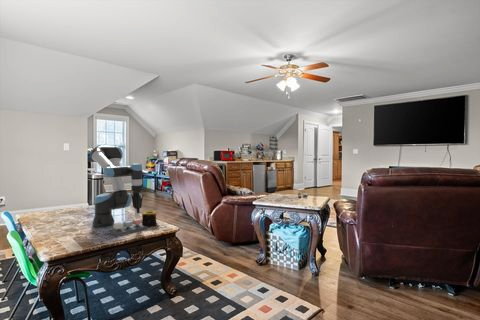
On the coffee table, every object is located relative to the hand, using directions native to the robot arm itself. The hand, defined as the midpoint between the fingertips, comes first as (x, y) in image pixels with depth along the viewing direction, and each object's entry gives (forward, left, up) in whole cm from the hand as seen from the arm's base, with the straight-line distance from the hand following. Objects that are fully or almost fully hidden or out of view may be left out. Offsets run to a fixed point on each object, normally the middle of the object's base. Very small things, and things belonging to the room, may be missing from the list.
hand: (137, 217), depth 199 cm
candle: (-2, +11, -9) cm, 14 cm away
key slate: (0, -7, -7) cm, 10 cm away
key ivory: (0, -14, -7) cm, 15 cm away
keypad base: (0, -7, -9) cm, 11 cm away
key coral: (0, 0, -7) cm, 7 cm away
